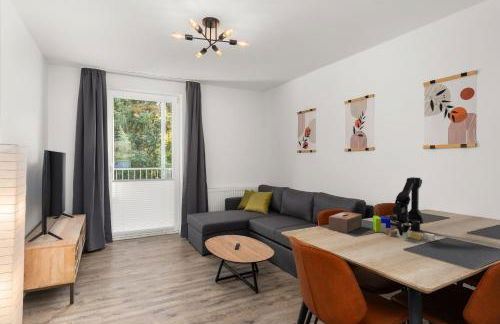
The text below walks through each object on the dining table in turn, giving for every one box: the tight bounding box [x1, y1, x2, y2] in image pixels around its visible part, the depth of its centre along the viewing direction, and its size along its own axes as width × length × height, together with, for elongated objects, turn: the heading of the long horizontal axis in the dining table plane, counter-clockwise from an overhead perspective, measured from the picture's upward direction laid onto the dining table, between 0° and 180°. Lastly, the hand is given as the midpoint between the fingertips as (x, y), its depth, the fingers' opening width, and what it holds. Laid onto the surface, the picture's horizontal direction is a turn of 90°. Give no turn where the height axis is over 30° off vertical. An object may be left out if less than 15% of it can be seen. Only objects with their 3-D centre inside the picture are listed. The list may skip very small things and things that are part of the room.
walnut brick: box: [384, 229, 396, 237], centre depth 201 cm, size 6×3×4 cm, turn 11°
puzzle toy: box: [372, 215, 392, 234], centre depth 213 cm, size 10×10×10 cm
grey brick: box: [422, 232, 436, 242], centre depth 192 cm, size 6×3×4 cm, turn 32°
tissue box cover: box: [328, 211, 363, 234], centre depth 221 cm, size 26×14×10 cm, turn 136°
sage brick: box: [396, 230, 409, 239], centre depth 197 cm, size 6×3×4 cm, turn 27°
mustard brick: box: [409, 231, 423, 241], centre depth 193 cm, size 6×3×4 cm, turn 30°
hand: (402, 235), depth 197 cm, fingers closed on sage brick, 3 cm apart
